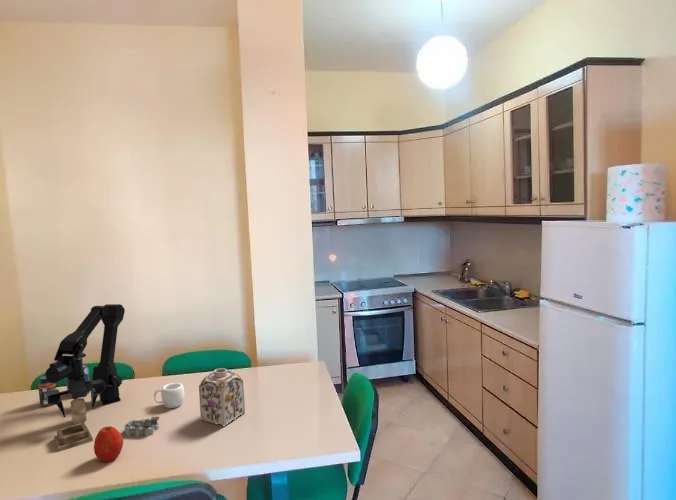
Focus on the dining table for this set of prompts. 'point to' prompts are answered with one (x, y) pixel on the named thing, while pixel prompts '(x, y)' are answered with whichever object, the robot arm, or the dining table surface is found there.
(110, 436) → the apple
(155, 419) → the egg carton
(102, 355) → the robot arm
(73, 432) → the walnut socket holder
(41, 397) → the supplement bottle
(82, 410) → the wooden dowel
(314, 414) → the dining table surface
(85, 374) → the soda can
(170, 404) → the mug
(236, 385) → the decorative jar
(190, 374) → the dining table surface
